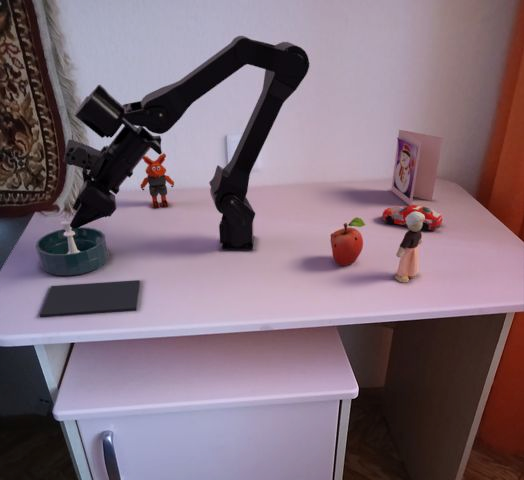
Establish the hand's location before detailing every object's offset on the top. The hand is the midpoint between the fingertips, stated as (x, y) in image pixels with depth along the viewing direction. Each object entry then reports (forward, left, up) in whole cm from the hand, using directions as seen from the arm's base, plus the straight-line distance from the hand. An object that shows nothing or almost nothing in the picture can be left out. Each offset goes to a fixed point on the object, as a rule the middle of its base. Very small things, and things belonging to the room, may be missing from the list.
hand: (73, 218), depth 103 cm
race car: (-69, -21, -9) cm, 72 cm away
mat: (-7, +15, -9) cm, 19 cm away
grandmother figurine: (-64, +4, -9) cm, 64 cm away
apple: (-53, -1, -9) cm, 53 cm away
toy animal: (-10, -30, -9) cm, 32 cm away
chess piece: (+1, 0, -9) cm, 9 cm away
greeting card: (-72, -38, -9) cm, 81 cm away
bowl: (+1, 0, -9) cm, 9 cm away
